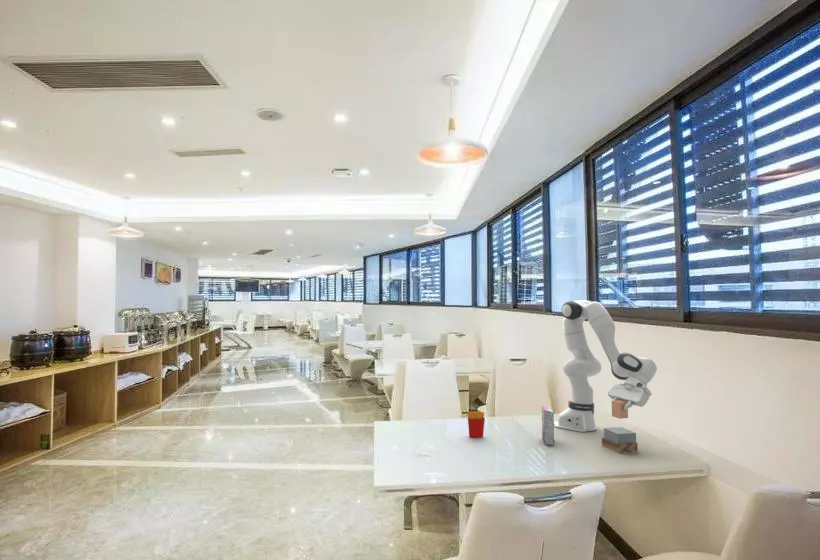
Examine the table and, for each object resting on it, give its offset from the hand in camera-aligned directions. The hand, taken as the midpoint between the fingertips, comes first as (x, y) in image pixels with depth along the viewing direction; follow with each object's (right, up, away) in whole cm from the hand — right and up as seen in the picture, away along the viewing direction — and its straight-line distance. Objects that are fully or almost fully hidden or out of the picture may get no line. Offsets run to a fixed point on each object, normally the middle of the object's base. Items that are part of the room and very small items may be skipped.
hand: (618, 408), depth 213 cm
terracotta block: (+1, -4, 0) cm, 4 cm away
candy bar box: (-32, -20, +8) cm, 38 cm away
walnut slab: (0, -20, -1) cm, 20 cm away
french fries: (-67, -19, +15) cm, 72 cm away
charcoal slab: (0, -15, -1) cm, 15 cm away
